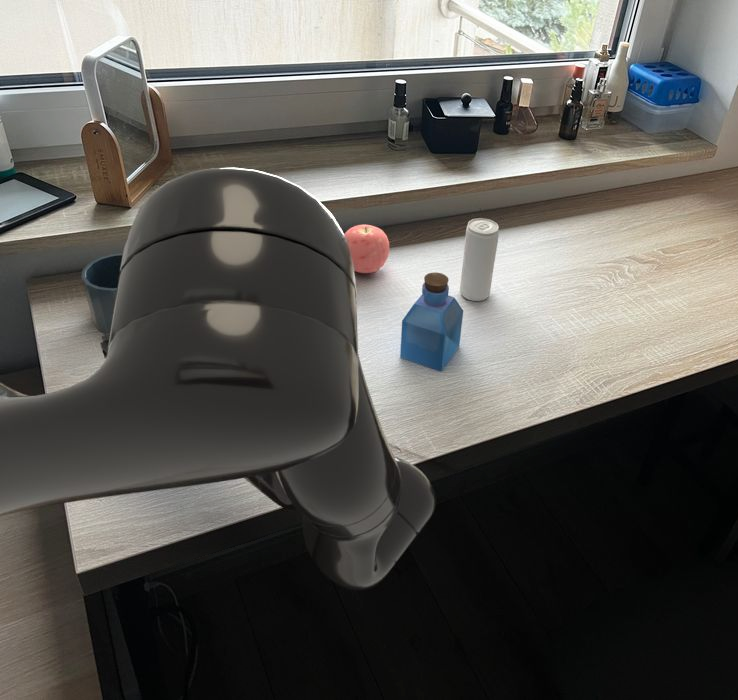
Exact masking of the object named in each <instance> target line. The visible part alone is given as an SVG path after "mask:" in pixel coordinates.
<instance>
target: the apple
mask: <svg viewBox="0 0 738 700" xmlns="http://www.w3.org/2000/svg"><path fill="white" fill-rule="evenodd" d="M344 235H345V238H346V240H347V243H348V246H349V250H350V253H351V257H352V261H353V266H354V272H356V273H359V274H372V273H374V272H377V271H378V270H380V269H381V268H382V267H383V266H384V265H385V263H386V262H387V259H388V257H389V254H390V241H389V238H388V236H387V234H386V233H385V232H384V230H382V229H381V228H380V227H377V226H374V225H371V224H357V225H354V226H353V227H350V228H349V229H348V230H346V232H344Z"/></svg>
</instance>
